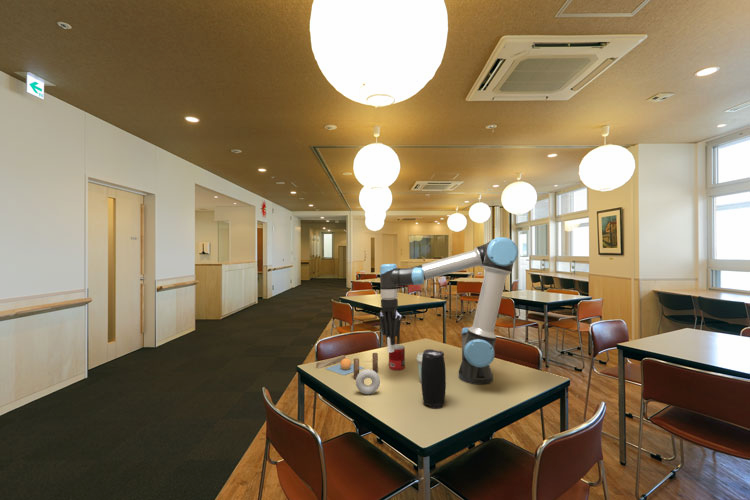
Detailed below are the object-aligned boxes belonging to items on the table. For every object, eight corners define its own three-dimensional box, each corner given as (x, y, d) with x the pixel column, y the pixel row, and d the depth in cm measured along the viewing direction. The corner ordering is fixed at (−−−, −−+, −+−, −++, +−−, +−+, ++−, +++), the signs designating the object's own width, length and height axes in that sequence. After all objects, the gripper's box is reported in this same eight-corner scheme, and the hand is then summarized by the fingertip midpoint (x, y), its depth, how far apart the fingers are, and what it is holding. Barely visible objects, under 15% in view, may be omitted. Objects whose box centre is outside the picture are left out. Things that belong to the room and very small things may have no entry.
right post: (379, 372, 160) (378, 353, 160) (375, 373, 158) (375, 354, 158) (375, 370, 161) (375, 352, 162) (371, 372, 159) (371, 353, 160)
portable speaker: (449, 403, 124) (449, 351, 125) (437, 412, 117) (436, 356, 118) (430, 397, 130) (429, 347, 130) (417, 405, 123) (416, 352, 123)
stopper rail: (345, 360, 179) (345, 355, 179) (318, 368, 166) (318, 363, 166) (342, 359, 180) (342, 355, 180) (316, 367, 167) (316, 362, 167)
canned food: (405, 370, 161) (405, 348, 162) (389, 370, 162) (388, 348, 162) (404, 365, 169) (404, 344, 169) (388, 365, 169) (388, 344, 170)
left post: (360, 378, 150) (360, 359, 151) (356, 380, 149) (356, 360, 149) (356, 377, 152) (356, 358, 153) (352, 379, 150) (352, 359, 151)
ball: (346, 368, 167) (354, 368, 163) (338, 371, 163) (346, 370, 159) (345, 357, 168) (352, 357, 164) (337, 359, 164) (344, 359, 160)
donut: (355, 396, 131) (355, 370, 132) (355, 392, 135) (355, 368, 135) (380, 395, 131) (380, 370, 132) (380, 392, 135) (379, 367, 135)
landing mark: (364, 368, 166) (364, 367, 166) (343, 375, 155) (343, 374, 155) (346, 362, 175) (346, 362, 175) (325, 368, 165) (325, 368, 165)
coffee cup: (424, 377, 152) (424, 351, 152) (439, 382, 146) (439, 354, 146) (412, 382, 146) (412, 355, 146) (428, 387, 140) (428, 359, 140)
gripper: (405, 298, 144) (407, 352, 143) (383, 297, 153) (385, 347, 152) (395, 300, 139) (396, 356, 138) (372, 298, 148) (374, 351, 147)
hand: (390, 351), depth 145 cm, fingers closed
